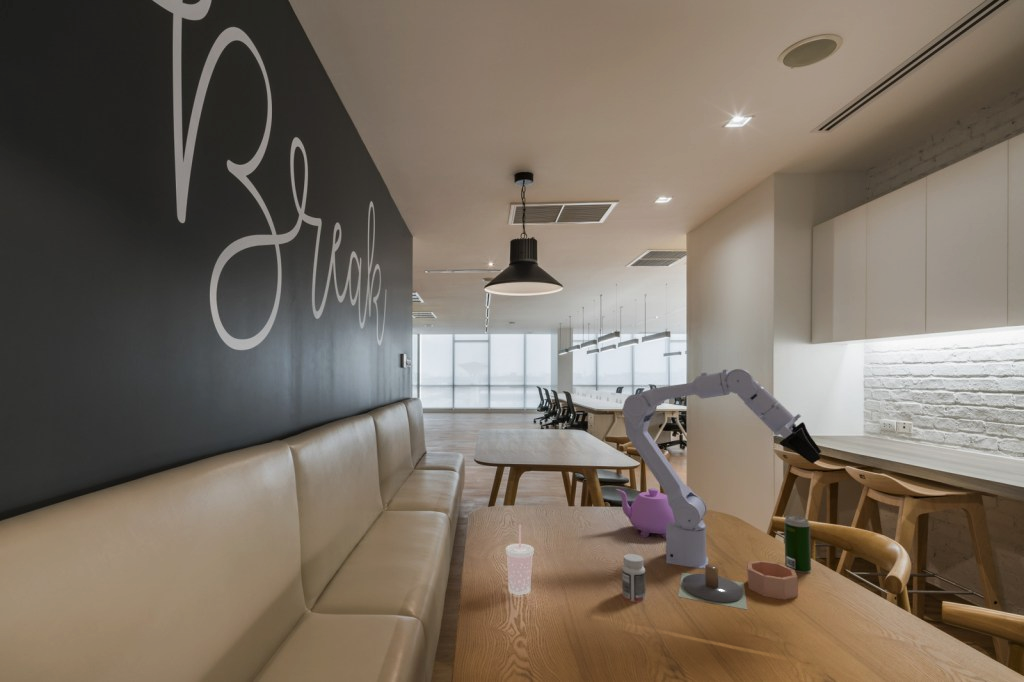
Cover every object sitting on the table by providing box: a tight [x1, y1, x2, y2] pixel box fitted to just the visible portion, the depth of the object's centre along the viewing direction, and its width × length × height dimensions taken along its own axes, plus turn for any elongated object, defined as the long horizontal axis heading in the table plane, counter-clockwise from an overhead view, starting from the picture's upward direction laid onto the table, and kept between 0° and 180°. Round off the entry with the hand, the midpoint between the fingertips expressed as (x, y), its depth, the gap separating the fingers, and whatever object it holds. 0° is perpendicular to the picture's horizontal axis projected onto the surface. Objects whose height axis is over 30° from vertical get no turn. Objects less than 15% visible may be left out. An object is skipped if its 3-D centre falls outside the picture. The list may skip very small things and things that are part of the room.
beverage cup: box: [505, 524, 535, 595], centre depth 103 cm, size 6×6×14 cm
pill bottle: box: [621, 553, 647, 603], centre depth 100 cm, size 5×5×8 cm
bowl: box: [746, 560, 799, 600], centre depth 104 cm, size 9×9×4 cm
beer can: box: [783, 515, 812, 574], centre depth 115 cm, size 5×5×12 cm
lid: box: [682, 563, 743, 603], centre depth 103 cm, size 12×12×5 cm
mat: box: [677, 572, 748, 610], centre depth 103 cm, size 13×13×1 cm
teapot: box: [615, 487, 675, 538], centre depth 141 cm, size 20×14×12 cm
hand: (817, 457), depth 106 cm, fingers open, 7 cm apart
